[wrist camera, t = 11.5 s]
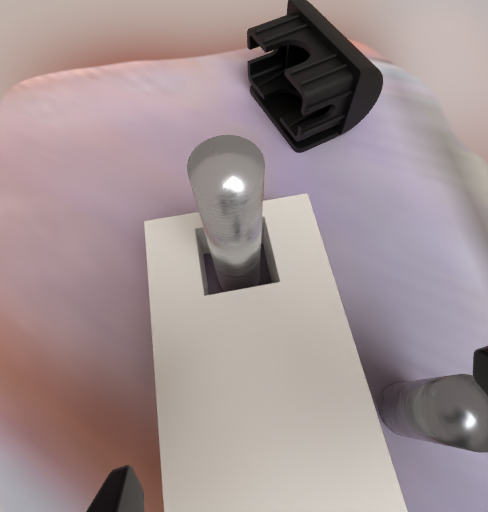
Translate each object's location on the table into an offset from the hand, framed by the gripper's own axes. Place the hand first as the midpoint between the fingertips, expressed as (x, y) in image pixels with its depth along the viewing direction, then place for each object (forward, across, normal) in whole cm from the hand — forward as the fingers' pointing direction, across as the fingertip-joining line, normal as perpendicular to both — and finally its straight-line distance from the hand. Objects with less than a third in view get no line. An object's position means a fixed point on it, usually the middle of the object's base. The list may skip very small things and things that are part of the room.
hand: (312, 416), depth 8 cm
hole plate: (+12, 0, +7) cm, 14 cm away
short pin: (+8, -8, +11) cm, 16 cm away
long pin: (+16, 0, +3) cm, 16 cm away
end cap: (+26, -11, -7) cm, 29 cm away
